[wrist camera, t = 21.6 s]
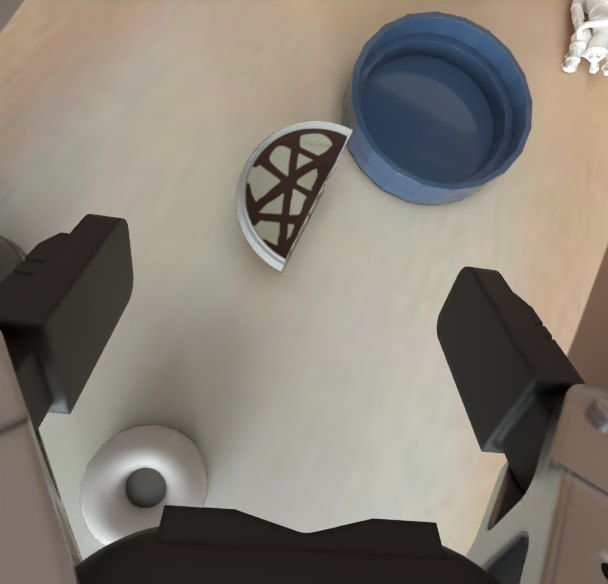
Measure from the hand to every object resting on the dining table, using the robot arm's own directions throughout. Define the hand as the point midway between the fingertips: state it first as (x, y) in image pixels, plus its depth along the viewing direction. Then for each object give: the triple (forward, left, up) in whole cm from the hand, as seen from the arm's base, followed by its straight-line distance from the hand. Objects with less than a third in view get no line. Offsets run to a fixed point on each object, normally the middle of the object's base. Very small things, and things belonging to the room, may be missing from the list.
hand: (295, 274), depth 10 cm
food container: (0, +11, -29) cm, 31 cm away
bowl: (+14, +23, -29) cm, 39 cm away
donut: (-8, -14, -29) cm, 33 cm away
